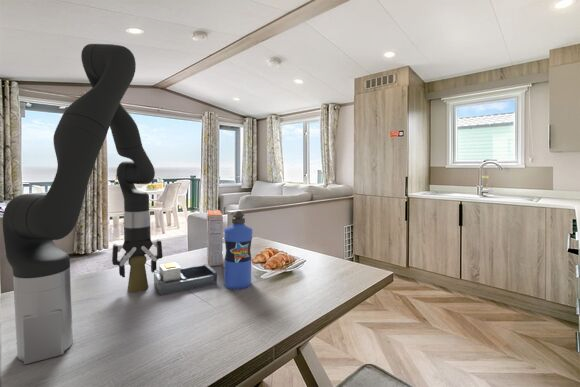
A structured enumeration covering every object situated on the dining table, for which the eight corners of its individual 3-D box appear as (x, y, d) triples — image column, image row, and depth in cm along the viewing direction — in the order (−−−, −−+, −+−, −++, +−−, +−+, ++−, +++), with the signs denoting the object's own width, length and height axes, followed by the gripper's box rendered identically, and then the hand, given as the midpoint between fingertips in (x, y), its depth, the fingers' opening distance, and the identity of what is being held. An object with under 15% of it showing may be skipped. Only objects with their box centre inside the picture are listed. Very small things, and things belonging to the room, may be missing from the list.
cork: (152, 285, 99) (151, 253, 98) (141, 292, 93) (140, 258, 92) (135, 284, 100) (134, 252, 99) (123, 291, 94) (122, 257, 93)
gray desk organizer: (216, 283, 102) (217, 262, 101) (160, 295, 92) (160, 271, 91) (206, 274, 110) (206, 254, 110) (154, 284, 100) (153, 262, 100)
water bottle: (254, 287, 100) (255, 213, 97) (226, 291, 96) (227, 214, 94) (247, 277, 108) (248, 209, 106) (221, 280, 105) (222, 210, 103)
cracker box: (206, 256, 132) (206, 209, 130) (220, 255, 134) (220, 209, 132) (207, 267, 119) (207, 214, 117) (222, 265, 120) (223, 214, 119)
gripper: (112, 229, 88) (113, 282, 89) (163, 224, 96) (164, 273, 97) (110, 224, 94) (112, 274, 95) (158, 220, 102) (159, 266, 103)
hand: (138, 274), depth 96 cm, fingers open, 8 cm apart
